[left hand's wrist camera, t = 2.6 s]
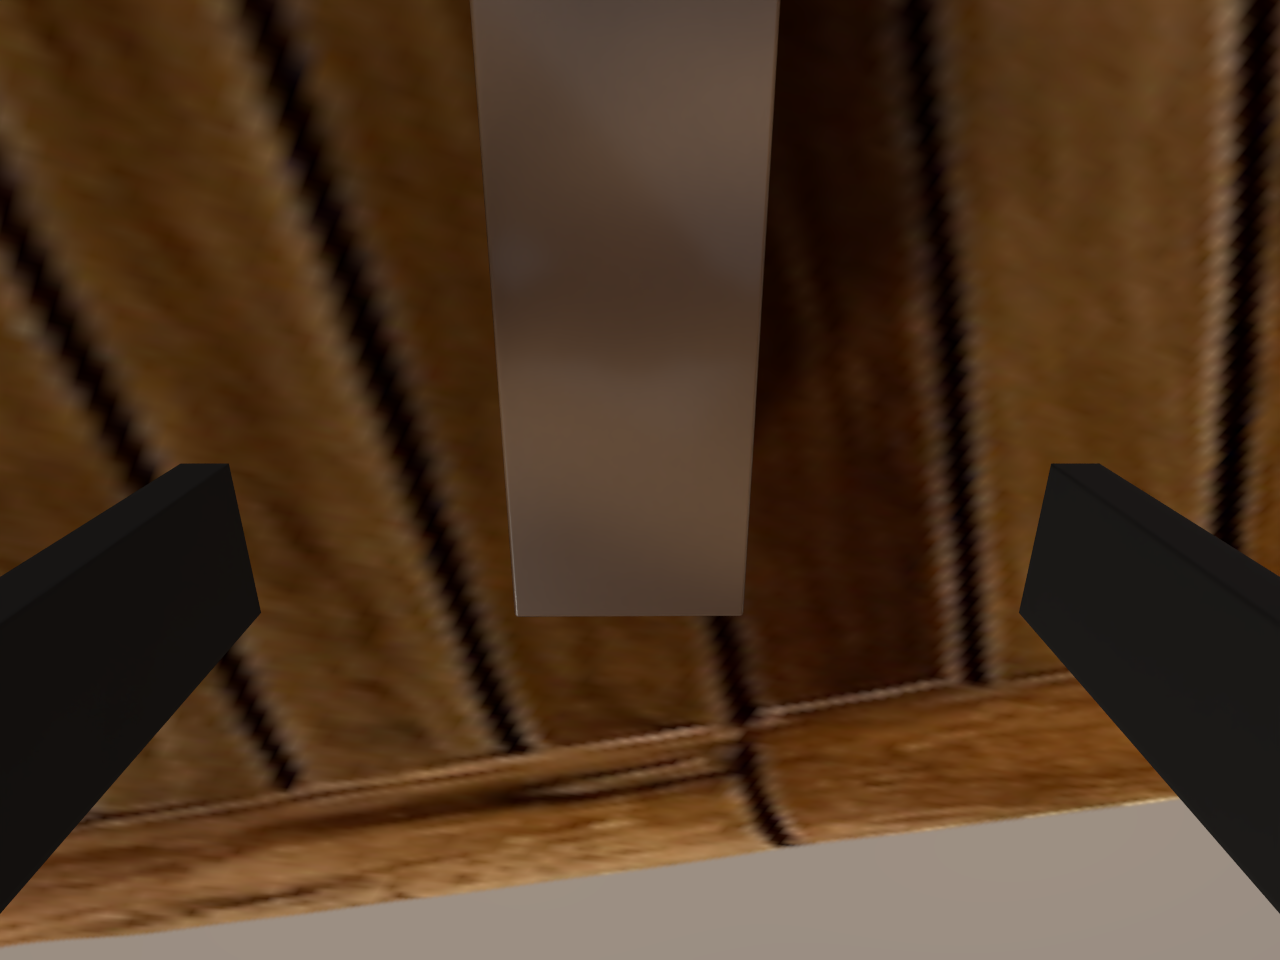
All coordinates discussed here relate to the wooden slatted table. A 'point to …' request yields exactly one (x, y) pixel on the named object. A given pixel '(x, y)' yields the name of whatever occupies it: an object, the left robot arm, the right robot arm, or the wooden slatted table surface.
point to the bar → (626, 292)
